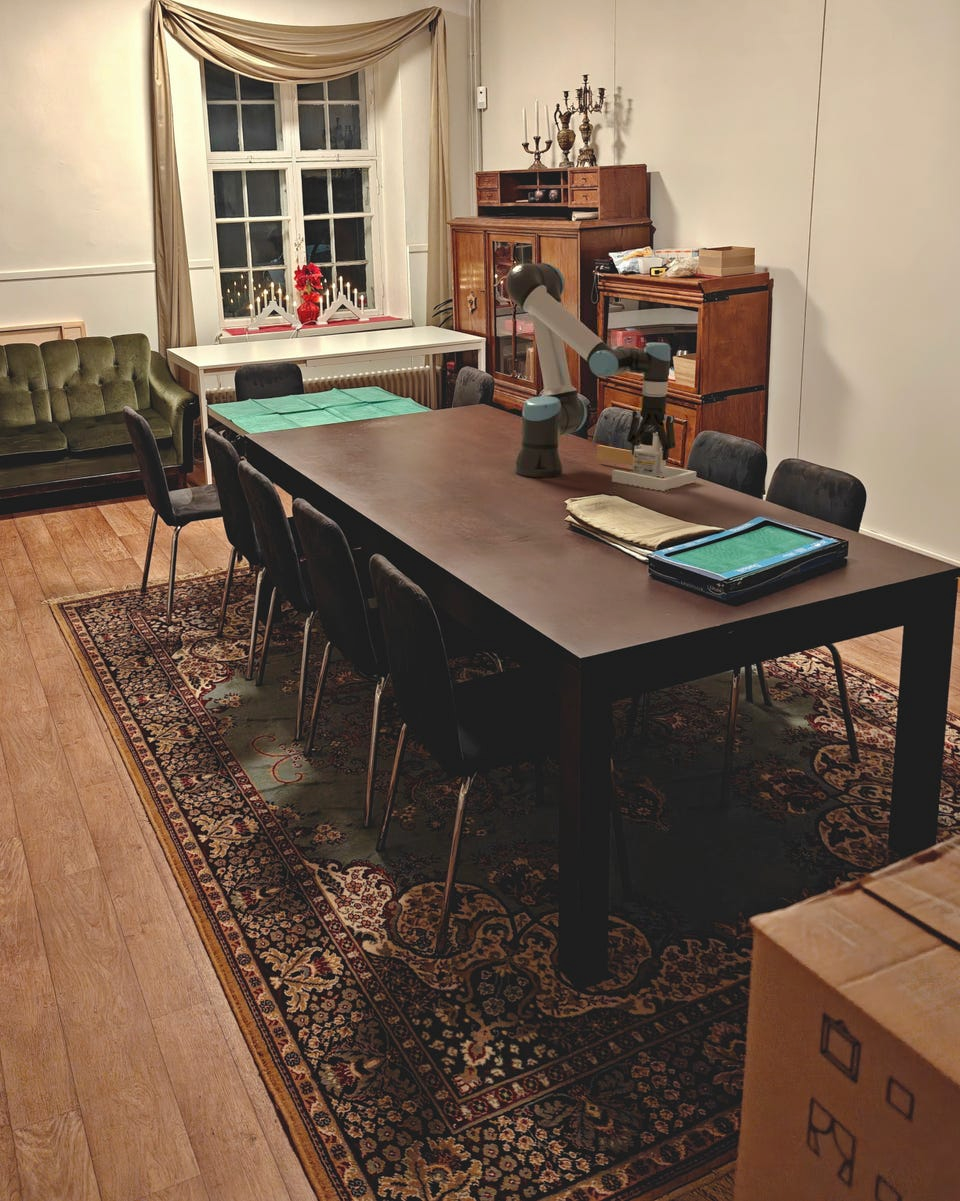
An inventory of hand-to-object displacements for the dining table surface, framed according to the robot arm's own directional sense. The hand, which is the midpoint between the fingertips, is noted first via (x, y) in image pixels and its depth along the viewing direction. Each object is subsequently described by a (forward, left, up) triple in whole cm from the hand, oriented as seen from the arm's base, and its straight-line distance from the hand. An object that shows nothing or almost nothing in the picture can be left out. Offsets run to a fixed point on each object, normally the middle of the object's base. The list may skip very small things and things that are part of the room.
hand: (649, 467), depth 355 cm
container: (0, 0, -2) cm, 2 cm away
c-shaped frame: (0, -2, -4) cm, 5 cm away
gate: (+11, +17, -3) cm, 21 cm away
